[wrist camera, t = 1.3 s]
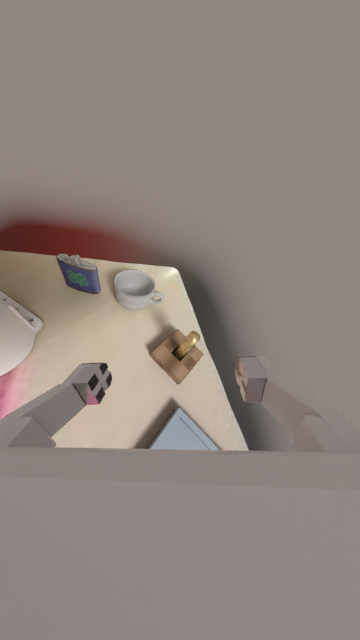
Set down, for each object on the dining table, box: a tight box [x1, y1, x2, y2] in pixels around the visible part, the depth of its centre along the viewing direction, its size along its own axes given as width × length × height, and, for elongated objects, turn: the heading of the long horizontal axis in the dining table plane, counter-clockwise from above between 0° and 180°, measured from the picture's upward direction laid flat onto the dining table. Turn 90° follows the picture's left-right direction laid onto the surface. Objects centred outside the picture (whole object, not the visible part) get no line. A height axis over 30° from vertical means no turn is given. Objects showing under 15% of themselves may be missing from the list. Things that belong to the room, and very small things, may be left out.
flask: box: [56, 254, 101, 294], centre depth 38 cm, size 9×3×11 cm, turn 82°
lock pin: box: [173, 331, 200, 360], centre depth 35 cm, size 2×2×13 cm
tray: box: [147, 407, 219, 450], centre depth 26 cm, size 18×16×2 cm
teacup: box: [114, 270, 164, 310], centre depth 42 cm, size 14×11×8 cm
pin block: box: [150, 329, 203, 384], centre depth 39 cm, size 10×10×3 cm
